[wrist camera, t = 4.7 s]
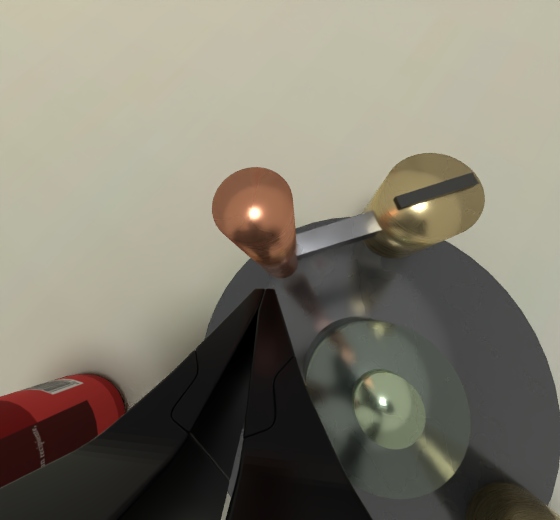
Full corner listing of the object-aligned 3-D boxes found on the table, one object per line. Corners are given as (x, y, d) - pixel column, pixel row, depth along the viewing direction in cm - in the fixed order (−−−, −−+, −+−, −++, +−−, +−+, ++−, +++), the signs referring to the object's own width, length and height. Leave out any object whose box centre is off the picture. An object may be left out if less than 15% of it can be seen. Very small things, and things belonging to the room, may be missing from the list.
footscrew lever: (409, 190, 14) (561, 32, 6) (438, 247, 13) (669, 153, 5) (257, 238, 15) (198, 155, 6) (273, 297, 14) (229, 288, 5)
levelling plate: (619, 540, 11) (926, 769, 5) (214, 615, 12) (144, 864, 6) (444, 191, 15) (516, 135, 10) (170, 268, 16) (110, 252, 11)
